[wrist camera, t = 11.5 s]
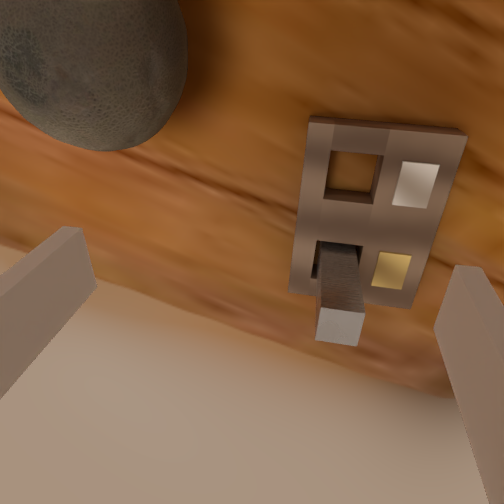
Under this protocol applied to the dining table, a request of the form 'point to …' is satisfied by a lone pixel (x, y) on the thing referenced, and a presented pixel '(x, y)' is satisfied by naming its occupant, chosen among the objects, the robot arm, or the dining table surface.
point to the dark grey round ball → (94, 67)
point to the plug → (338, 294)
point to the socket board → (376, 203)
